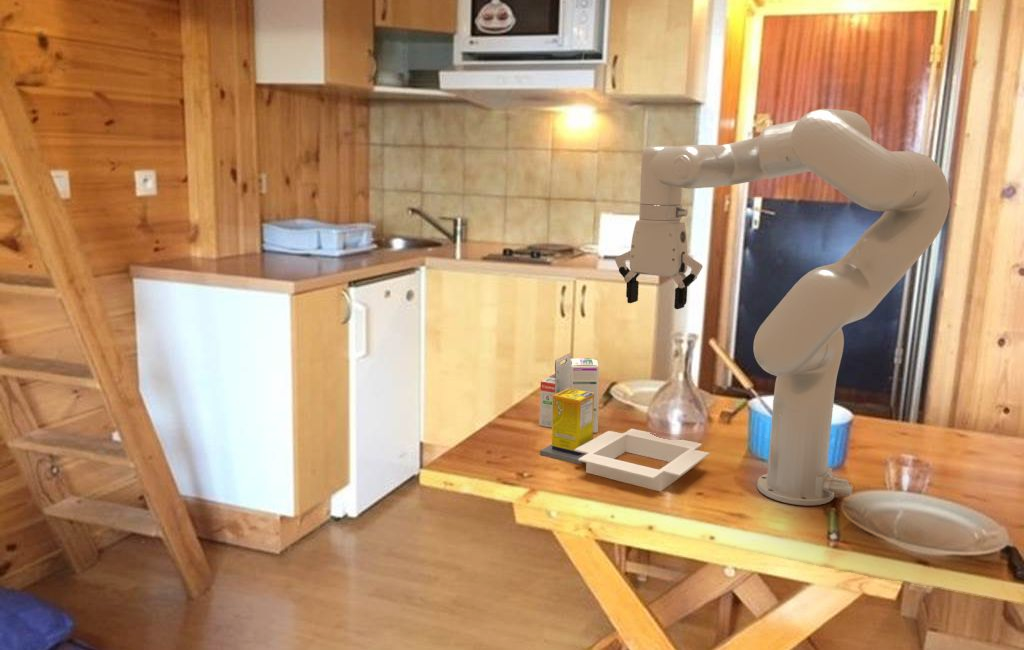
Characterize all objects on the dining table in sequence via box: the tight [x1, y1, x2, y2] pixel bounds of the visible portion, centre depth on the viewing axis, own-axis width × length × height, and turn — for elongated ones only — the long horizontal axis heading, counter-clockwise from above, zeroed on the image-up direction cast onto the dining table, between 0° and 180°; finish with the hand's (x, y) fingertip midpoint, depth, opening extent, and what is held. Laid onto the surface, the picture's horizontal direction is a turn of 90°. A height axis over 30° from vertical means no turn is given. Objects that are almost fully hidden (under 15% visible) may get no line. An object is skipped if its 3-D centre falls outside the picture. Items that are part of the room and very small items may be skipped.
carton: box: [574, 428, 710, 492], centre depth 155 cm, size 21×21×4 cm
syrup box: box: [570, 357, 600, 434], centre depth 176 cm, size 6×6×14 cm
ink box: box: [538, 352, 572, 429], centre depth 180 cm, size 4×8×15 cm, turn 152°
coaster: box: [539, 443, 586, 465], centre depth 164 cm, size 9×9×1 cm
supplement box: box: [551, 388, 594, 455], centre depth 162 cm, size 6×6×11 cm
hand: (655, 305), depth 161 cm, fingers open, 9 cm apart
